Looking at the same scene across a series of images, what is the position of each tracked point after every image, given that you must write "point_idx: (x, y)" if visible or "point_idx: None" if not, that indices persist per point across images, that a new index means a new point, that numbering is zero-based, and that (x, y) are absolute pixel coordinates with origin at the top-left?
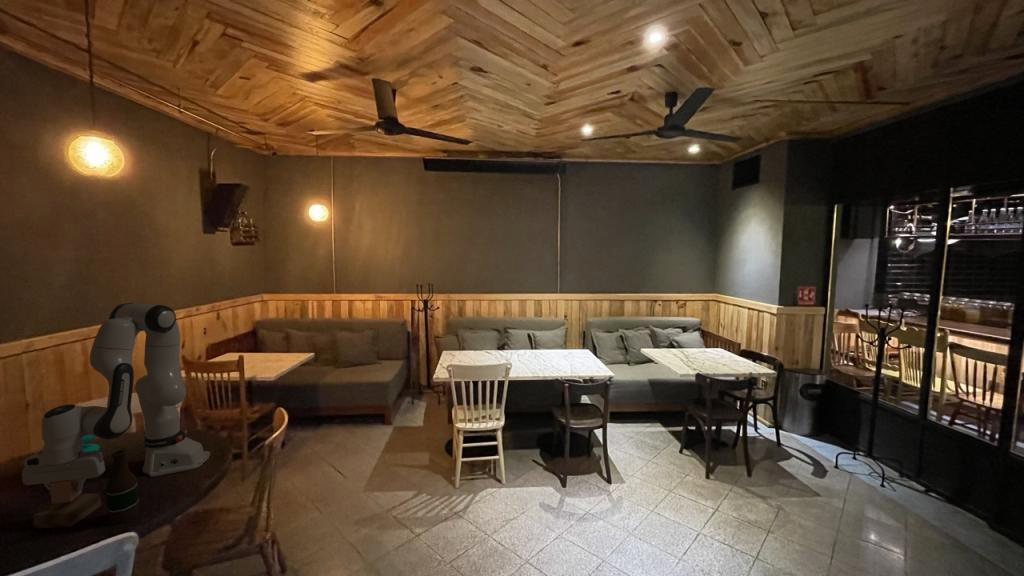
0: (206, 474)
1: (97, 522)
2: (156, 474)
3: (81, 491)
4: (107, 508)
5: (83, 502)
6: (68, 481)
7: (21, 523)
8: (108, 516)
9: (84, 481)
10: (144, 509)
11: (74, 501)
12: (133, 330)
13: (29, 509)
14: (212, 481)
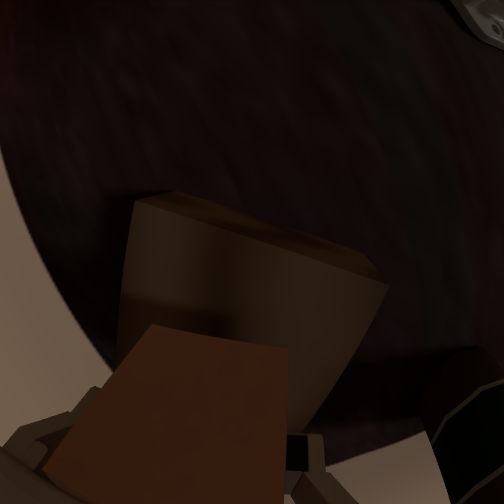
0: None
1: (381, 394)
2: (499, 43)
3: (287, 356)
4: (433, 449)
5: (319, 374)
6: None
7: (76, 280)
8: (423, 424)
9: (345, 495)
10: (501, 350)
11: (253, 341)
12: None
13: (42, 165)
14: None
